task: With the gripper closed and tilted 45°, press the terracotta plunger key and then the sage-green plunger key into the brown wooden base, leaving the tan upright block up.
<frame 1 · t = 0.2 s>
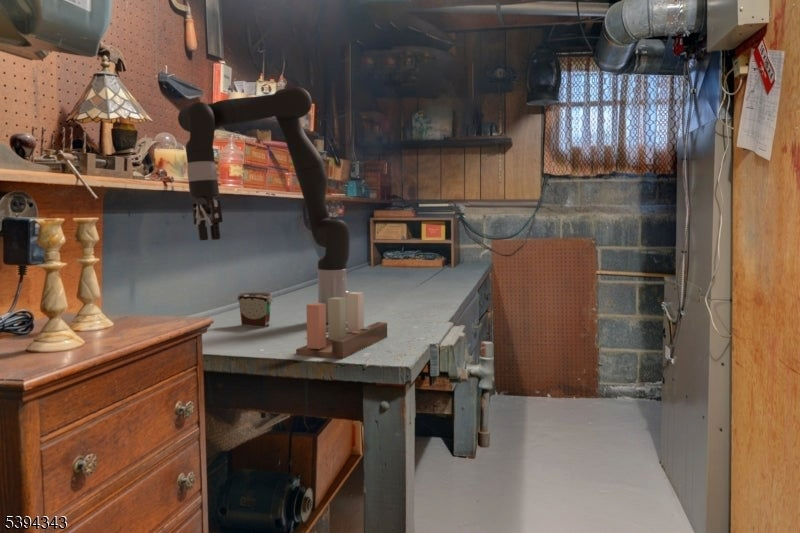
hand: (209, 239, 162), 28 cm above the table, tool pointing down, fingers open, 8 cm apart
sage key: (337, 318, 161), point 7 cm above the table, slide at 0.0 cm
terracotta key: (316, 325, 151), point 7 cm above the table, slide at 0.0 cm
brown wooden base: (337, 344, 162), on the table
combination wrench: (337, 334, 178), on the table
food container: (259, 325, 190), on the table
tan upright block: (355, 312, 171), point 7 cm above the table, slide at 0.0 cm
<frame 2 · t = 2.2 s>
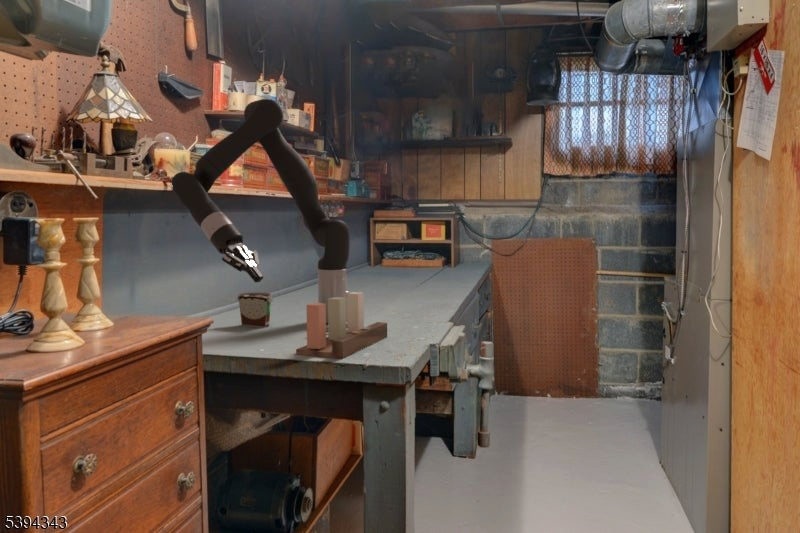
hand: (259, 280, 157), 18 cm above the table, tool tilted 45°, fingers closed
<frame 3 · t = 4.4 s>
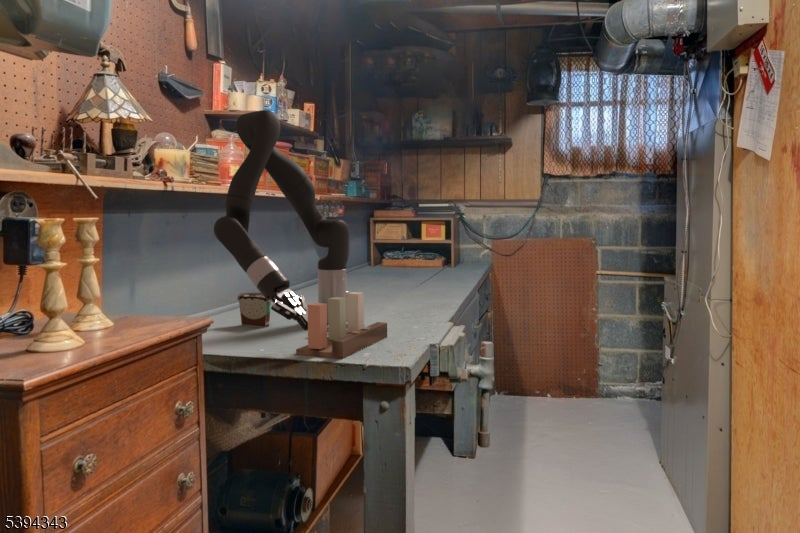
hand: (309, 328, 152), 6 cm above the table, tool tilted 45°, fingers closed
terracotta key: (317, 325, 151), point 7 cm above the table, slide at 0.3 cm, touching gripper
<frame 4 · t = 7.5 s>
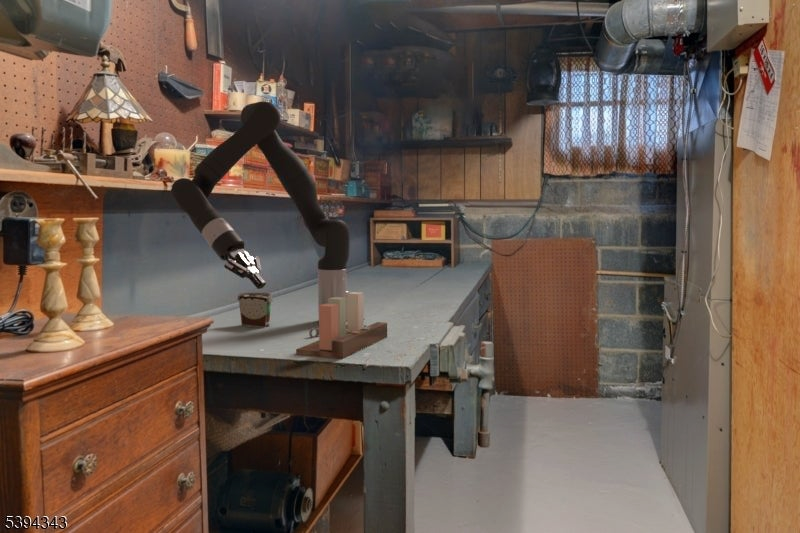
hand: (262, 286, 156), 16 cm above the table, tool tilted 45°, fingers closed
terracotta key: (328, 326, 150), point 7 cm above the table, slide at 3.5 cm
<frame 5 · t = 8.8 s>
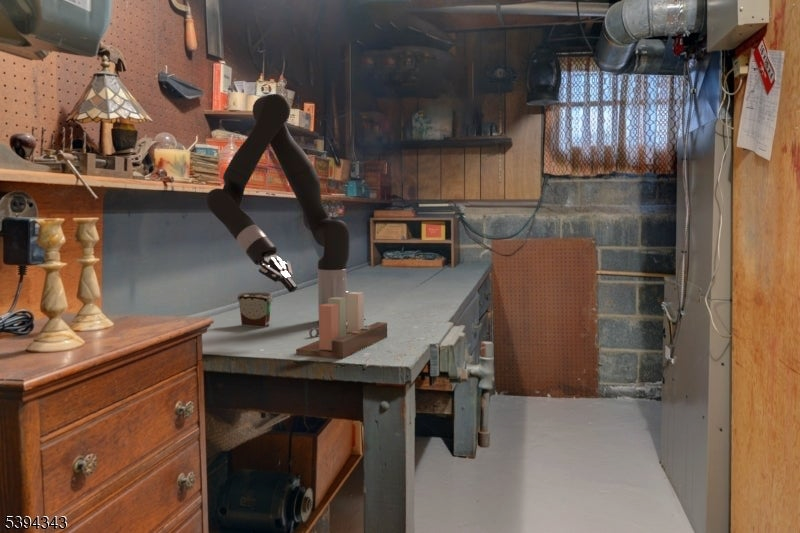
hand: (294, 289, 165), 14 cm above the table, tool tilted 45°, fingers closed
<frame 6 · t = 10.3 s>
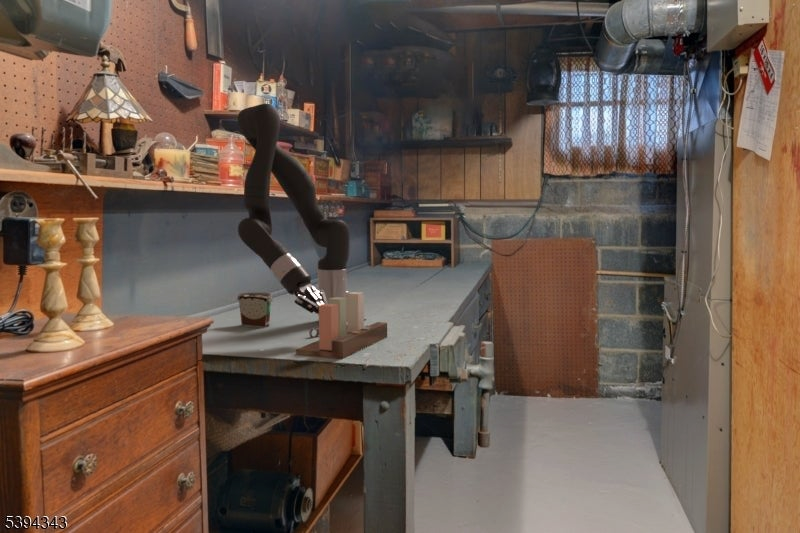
hand: (330, 320, 162), 6 cm above the table, tool tilted 45°, fingers closed
sage key: (337, 318, 161), point 7 cm above the table, slide at 0.2 cm, touching gripper
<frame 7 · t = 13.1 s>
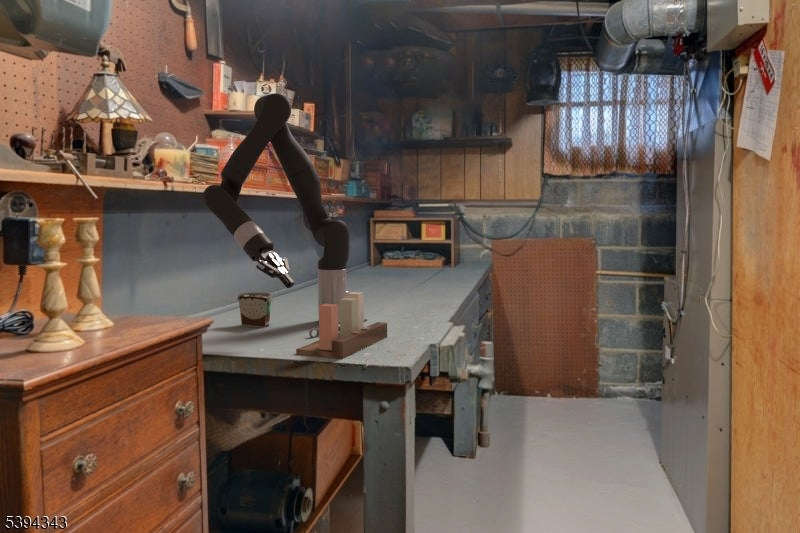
hand: (291, 285, 166), 15 cm above the table, tool tilted 45°, fingers closed
sage key: (348, 319, 160), point 7 cm above the table, slide at 3.5 cm
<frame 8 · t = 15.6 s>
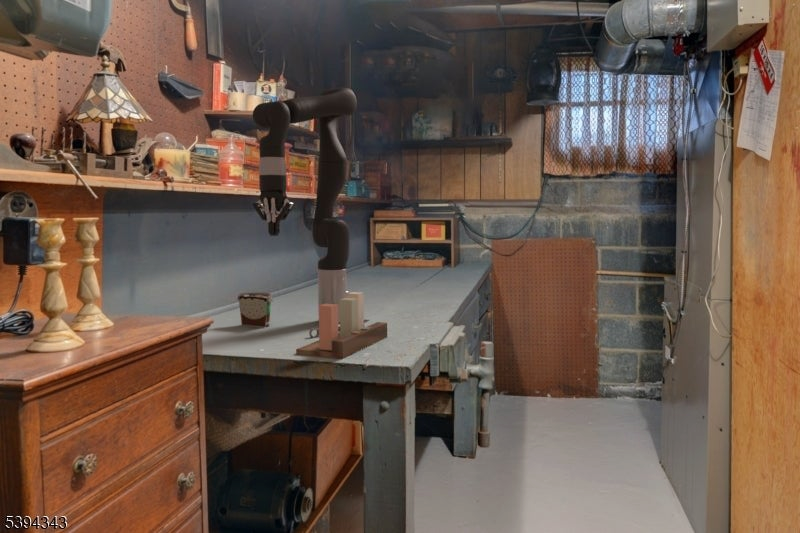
hand: (274, 235, 171), 29 cm above the table, tool pointing down, fingers closed
at the end: terracotta key slide at 3.5 cm; sage key slide at 3.5 cm; tan upright block slide at 0.0 cm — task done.
